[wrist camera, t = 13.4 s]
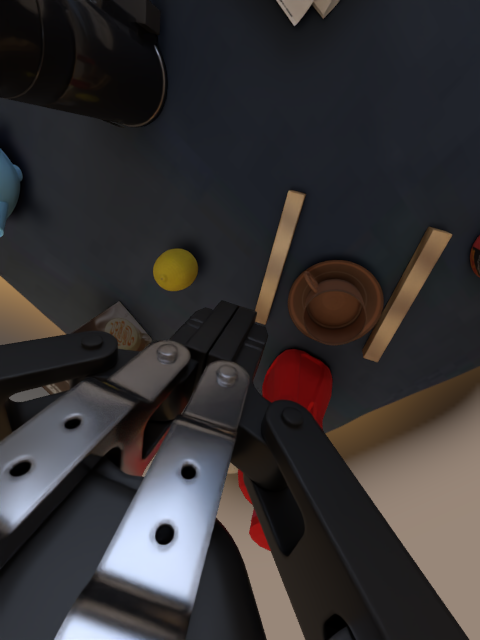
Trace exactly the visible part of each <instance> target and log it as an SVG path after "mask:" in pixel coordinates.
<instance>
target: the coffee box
mask: <svg viewBox="0 0 480 640" xmlns="http://www.w3.org/2000/svg"><path fill="white" fill-rule="evenodd" d="M85 331H103V332H107V333H110V334H111V335H113V336H114V337H115V338H116V339H117V341H118V349H124V350H133V351H142V350H143V349H144V348H145V347H146V346H147V345H148V344H149V343H150V342H152V339H151V337H150V336H149V335H148V334H147V333H146V332H145V330H144V329H143V328H142V327H141V326H140V324H139V323H138V322H137V321H136V320H135V319H134V318H133V316H132V315H131V314H130V313H129V312H128V311H127V309H126V308H125V307H124V306H123V305H122V304H121V302H117V303H116V304H114V305H113V306H111V307H110V308H108V309H107V310H105V311H104V312H102V313H101V314H99V315H98V316H96V317H95V318H93V319H92V320H90V321H89V322H87V323H85V324H84V325H82V326H81V327H79V328H78V329H76V330H75V331H73V332H72V333H70V334H73V333H79V332H85ZM42 387H43V388H44V389H45V390H46V391H47V392H48V393H49V394H50V395H52V394H55V393H59V392H63V391H67V390H70V385H69V380H67V381H63V382H59V383H54V384H50V385H46V386H42Z"/></svg>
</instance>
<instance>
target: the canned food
mask: <svg viewBox="0 0 480 640" xmlns="http://www.w3.org/2000/svg"><path fill="white" fill-rule="evenodd" d="M470 263H471V267H472V269H473V271H474V272H475V274H476V275H477V276H478V277H480V235H479V236H478V237H477V239H476V240H475V242H474V244H473V246H472V248H471V252H470Z"/></svg>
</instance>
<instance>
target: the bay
mask: <svg viewBox="0 0 480 640" xmlns="http://www.w3.org/2000/svg"><path fill="white" fill-rule="evenodd" d="M305 197H306V194H305V193H301V192H297V191H294V190H289V191H288V194H287V198H286V201H285V205H284V209H283V212H282V216H281V219H280V223H279V227H278V230H277V234H276V237H275V241H274V245H273V248H272V252H271V255H270V259H269V263H268V266H267V270H266V273H265V277H264V281H263V284H262V288H261V291H260V295H259V299H258V302H257V306H256V309H255V311H256V312H257V316H256V320H255V321H256V322H259V323H262V324H264V325H265V324H266V322H267V320H268V317H269V313H270V310H271V307H272V304H273V300H274V297H275V294H276V291H277V287H278V284H279V281H280V278H281V275H282V271H283V268H284V265H285V262H286V258H287V255H288V252H289V249H290V245H291V242H292V239H293V236H294V232H295V229H296V226H297V223H298V219H299V216H300V213H301V210H302V206H303V203H304V200H305ZM451 236H452V234H450V233H449V232H447V231H444V230H440V229H436V228H432V227H428V228H427V230H426V232H425V234H424V236H423V238H422V240H421V242H420V243H419V245H418V247H417V249H416V251H415V253H414V255H413V256H412V258H411V260H410V262H409V264H408V266H407V268H406V269H405V271H404V273H403V275H402V277H401V279H400V281H399V282H398V284H397V286H396V288H395V290H394V292H393V294H392V296H391V297H390V299H389V301H388V303H387V305H386V307H385V309H384V310H383V312H382V314H381V316H380V318H379V320H378V322H377V323H376V325H375V327H374V329H373V331H372V333H371V335H370V337H369V338H368V340H367V342H366V344H365V346H364V348H363V350H362V352H363V357H364V358H366V359H369V360H372V361H375V362H378V361H379V359H380V357H381V356H382V354H383V352H384V351H385V349H386V347H387V345H388V344H389V342H390V340H391V339H392V337H393V335H394V333H395V332H396V330H397V328H398V327H399V325H400V323H401V322H402V320H403V318H404V316H405V315H406V313H407V311H408V310H409V308H410V306H411V304H412V303H413V301H414V299H415V298H416V296H417V294H418V293H419V291H420V289H421V287H422V286H423V284H424V282H425V281H426V279H427V277H428V275H429V274H430V272H431V270H432V269H433V267H434V265H435V264H436V262H437V260H438V258H439V257H440V255H441V253H442V252H443V250H444V248H445V246H446V245H447V243H448V241H449V240H450V238H451Z"/></svg>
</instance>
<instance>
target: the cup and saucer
mask: <svg viewBox="0 0 480 640" xmlns="http://www.w3.org/2000/svg"><path fill="white" fill-rule="evenodd" d="M383 303H384V301H383V293H382V289H381V287H380V284H379V283H378V281H377V280H376V278H375V277H374V276H373V275H372V274H371V273H370V272H369V271H368V270H367V269H365V268H364V267H362V266H360V265H358V264H355V263H353V262H349V261H343V260H330V261H324V262H321V263H318V264H315V265H313V266H311V267H310V268H308V269H307V270H305V271H304V272H303V273H301V275H300V276H299V277H298V278H297V279H296V280H295V282H294V283H293V285H292V287H291V289H290V292H289V297H288V310H289V314H290V317H291V319H292V321H293V323H294V324H295V326H296V327H297V328H298V329H299V330H300V331H301V332H302V333H303V334H305V335H306V336H308V337H309V338H311V339H313V340H316V341H318V342H321V343H323V344H327V345H342V344H346V343H349V342H351V341H354V340H356V339H358V338H360V337H362V336H364V335H365V334H366V333H368V332H369V331H370V330H371V329H372V328H373V327H374V326H375V324H376V323H377V322H378V320H379V318H380V316H381V313H382V310H383Z"/></svg>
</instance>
